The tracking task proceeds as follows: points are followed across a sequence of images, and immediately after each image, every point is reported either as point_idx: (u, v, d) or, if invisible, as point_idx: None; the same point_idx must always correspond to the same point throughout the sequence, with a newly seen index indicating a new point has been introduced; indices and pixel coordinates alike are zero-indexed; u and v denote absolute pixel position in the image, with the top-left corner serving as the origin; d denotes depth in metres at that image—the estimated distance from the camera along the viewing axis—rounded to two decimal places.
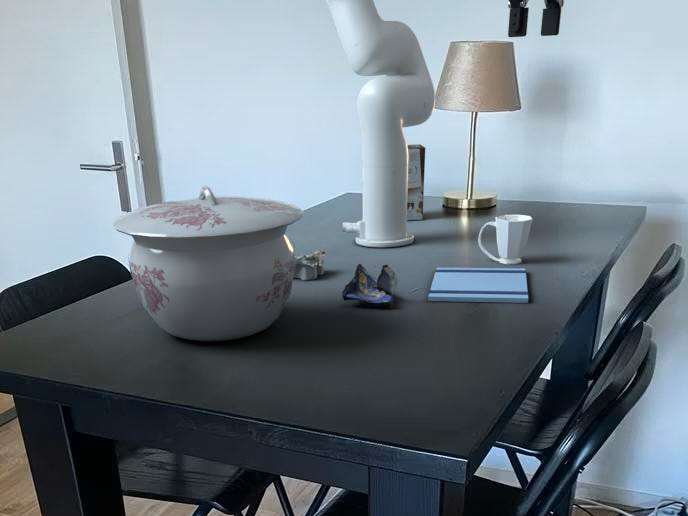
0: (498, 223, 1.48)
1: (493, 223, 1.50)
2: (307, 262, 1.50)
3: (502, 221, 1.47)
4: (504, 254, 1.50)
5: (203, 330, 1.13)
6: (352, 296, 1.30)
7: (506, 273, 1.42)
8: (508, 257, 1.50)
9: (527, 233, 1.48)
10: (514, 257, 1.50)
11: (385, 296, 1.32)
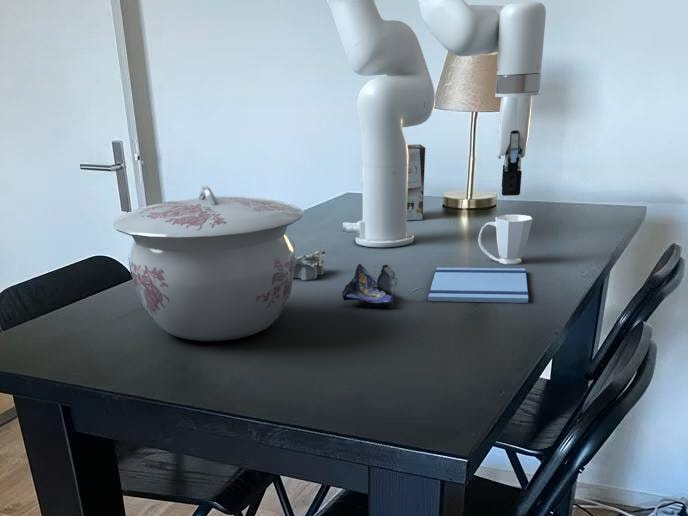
0: (498, 223, 1.48)
1: (493, 223, 1.50)
2: (307, 262, 1.50)
3: (502, 221, 1.47)
4: (504, 254, 1.50)
5: (203, 330, 1.13)
6: (352, 296, 1.30)
7: (506, 273, 1.42)
8: (508, 257, 1.50)
9: (527, 233, 1.48)
10: (514, 257, 1.50)
11: (385, 296, 1.32)
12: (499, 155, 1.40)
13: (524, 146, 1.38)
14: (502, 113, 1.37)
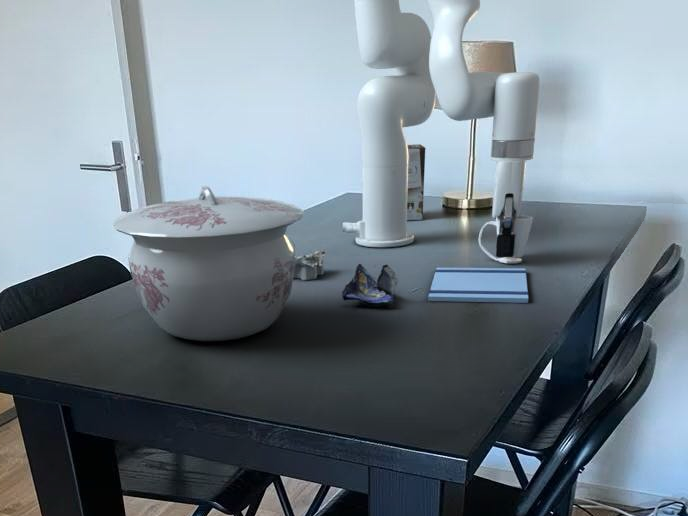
0: (499, 222, 1.48)
1: (494, 222, 1.51)
2: (307, 262, 1.50)
3: None
4: None
5: (203, 330, 1.13)
6: (352, 296, 1.30)
7: (506, 273, 1.42)
8: None
9: (527, 232, 1.48)
10: (514, 256, 1.50)
11: (385, 296, 1.32)
12: (494, 216, 1.45)
13: (518, 208, 1.43)
14: (497, 176, 1.42)
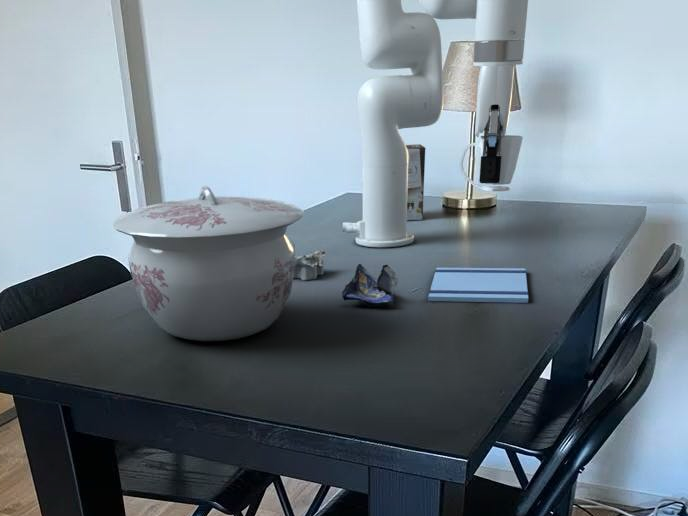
0: (483, 141, 1.27)
1: (477, 144, 1.30)
2: (307, 262, 1.50)
3: None
4: None
5: (203, 330, 1.13)
6: (352, 296, 1.30)
7: (506, 273, 1.42)
8: (494, 183, 1.29)
9: (516, 154, 1.28)
10: (501, 183, 1.29)
11: (385, 296, 1.32)
12: (477, 132, 1.24)
13: (505, 122, 1.22)
14: (480, 84, 1.21)
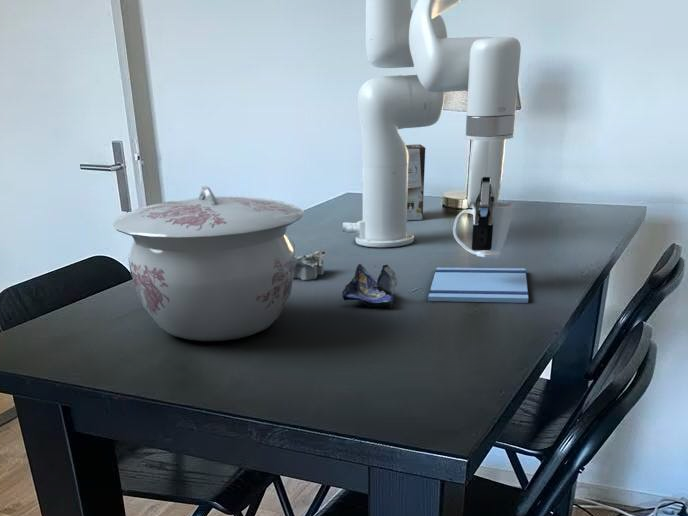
0: (475, 210, 1.30)
1: (470, 211, 1.33)
2: (307, 262, 1.50)
3: None
4: None
5: (203, 330, 1.13)
6: (352, 296, 1.30)
7: (506, 273, 1.42)
8: None
9: (508, 222, 1.31)
10: (493, 249, 1.32)
11: (385, 296, 1.32)
12: (469, 203, 1.27)
13: (496, 194, 1.26)
14: (472, 158, 1.24)
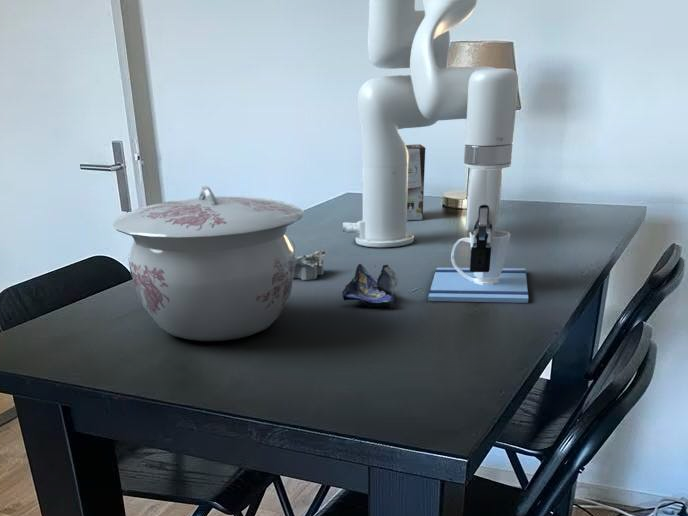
0: (472, 239, 1.32)
1: (467, 239, 1.35)
2: (307, 262, 1.50)
3: None
4: (479, 274, 1.35)
5: (203, 330, 1.13)
6: (352, 296, 1.30)
7: (506, 273, 1.42)
8: (484, 277, 1.35)
9: (504, 251, 1.33)
10: (490, 277, 1.35)
11: (385, 296, 1.32)
12: (467, 230, 1.29)
13: (494, 221, 1.28)
14: (470, 186, 1.26)
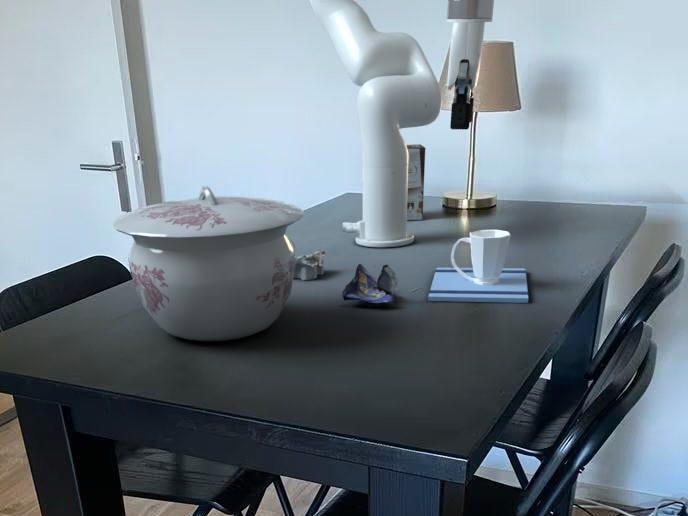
0: (472, 239, 1.32)
1: (467, 239, 1.35)
2: (307, 262, 1.50)
3: (476, 237, 1.32)
4: (479, 274, 1.35)
5: (203, 330, 1.13)
6: (352, 296, 1.30)
7: (506, 273, 1.42)
8: (484, 277, 1.35)
9: (504, 251, 1.33)
10: (490, 277, 1.35)
11: (385, 296, 1.32)
12: (448, 85, 1.34)
13: (474, 76, 1.33)
14: (452, 40, 1.31)
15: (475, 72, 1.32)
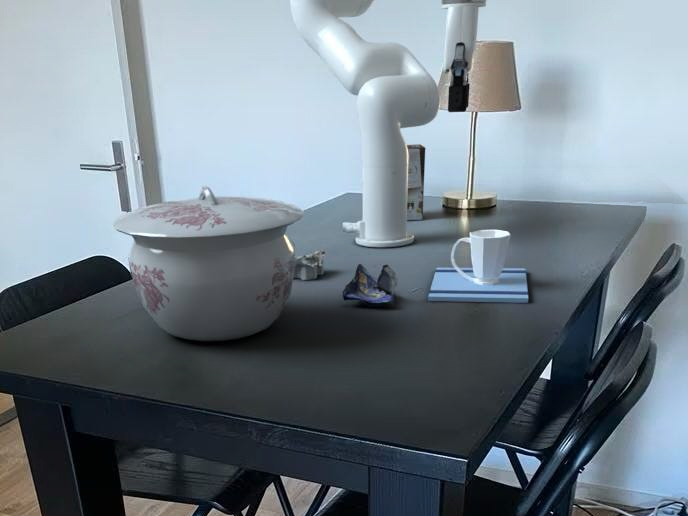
0: (472, 239, 1.32)
1: (467, 239, 1.35)
2: (307, 262, 1.50)
3: (476, 237, 1.32)
4: (479, 274, 1.35)
5: (203, 330, 1.13)
6: (352, 296, 1.30)
7: (506, 273, 1.42)
8: (484, 277, 1.35)
9: (504, 251, 1.33)
10: (490, 277, 1.35)
11: (385, 296, 1.32)
12: (445, 69, 1.37)
13: (470, 59, 1.35)
14: (447, 24, 1.34)
15: (471, 55, 1.35)
